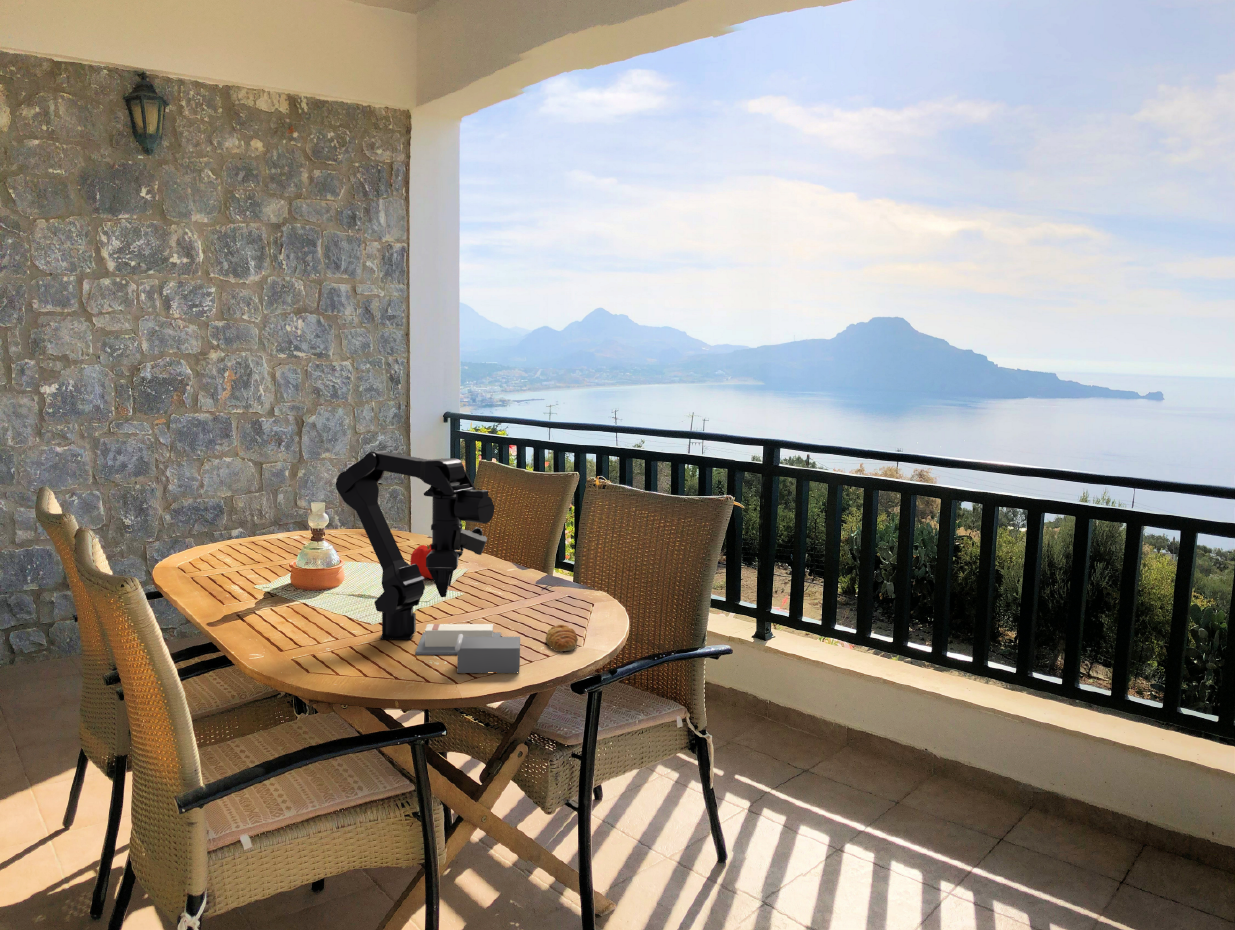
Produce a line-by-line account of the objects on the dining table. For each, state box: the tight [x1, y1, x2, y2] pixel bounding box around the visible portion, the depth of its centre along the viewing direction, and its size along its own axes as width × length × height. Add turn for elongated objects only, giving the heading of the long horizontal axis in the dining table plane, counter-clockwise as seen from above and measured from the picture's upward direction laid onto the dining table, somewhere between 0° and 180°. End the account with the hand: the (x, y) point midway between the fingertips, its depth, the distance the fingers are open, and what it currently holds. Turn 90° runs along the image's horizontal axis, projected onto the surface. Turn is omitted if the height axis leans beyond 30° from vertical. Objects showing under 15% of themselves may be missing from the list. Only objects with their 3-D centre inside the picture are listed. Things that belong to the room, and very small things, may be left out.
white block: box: [424, 623, 494, 647], centre depth 183 cm, size 14×4×4 cm, turn 96°
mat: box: [414, 631, 502, 656], centre depth 184 cm, size 17×13×1 cm
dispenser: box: [455, 634, 521, 674], centre depth 171 cm, size 12×8×6 cm, turn 96°
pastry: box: [545, 624, 579, 653], centre depth 185 cm, size 9×7×4 cm
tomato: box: [409, 542, 433, 580], centre depth 241 cm, size 11×12×9 cm
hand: (445, 591), depth 182 cm, fingers open, 9 cm apart
